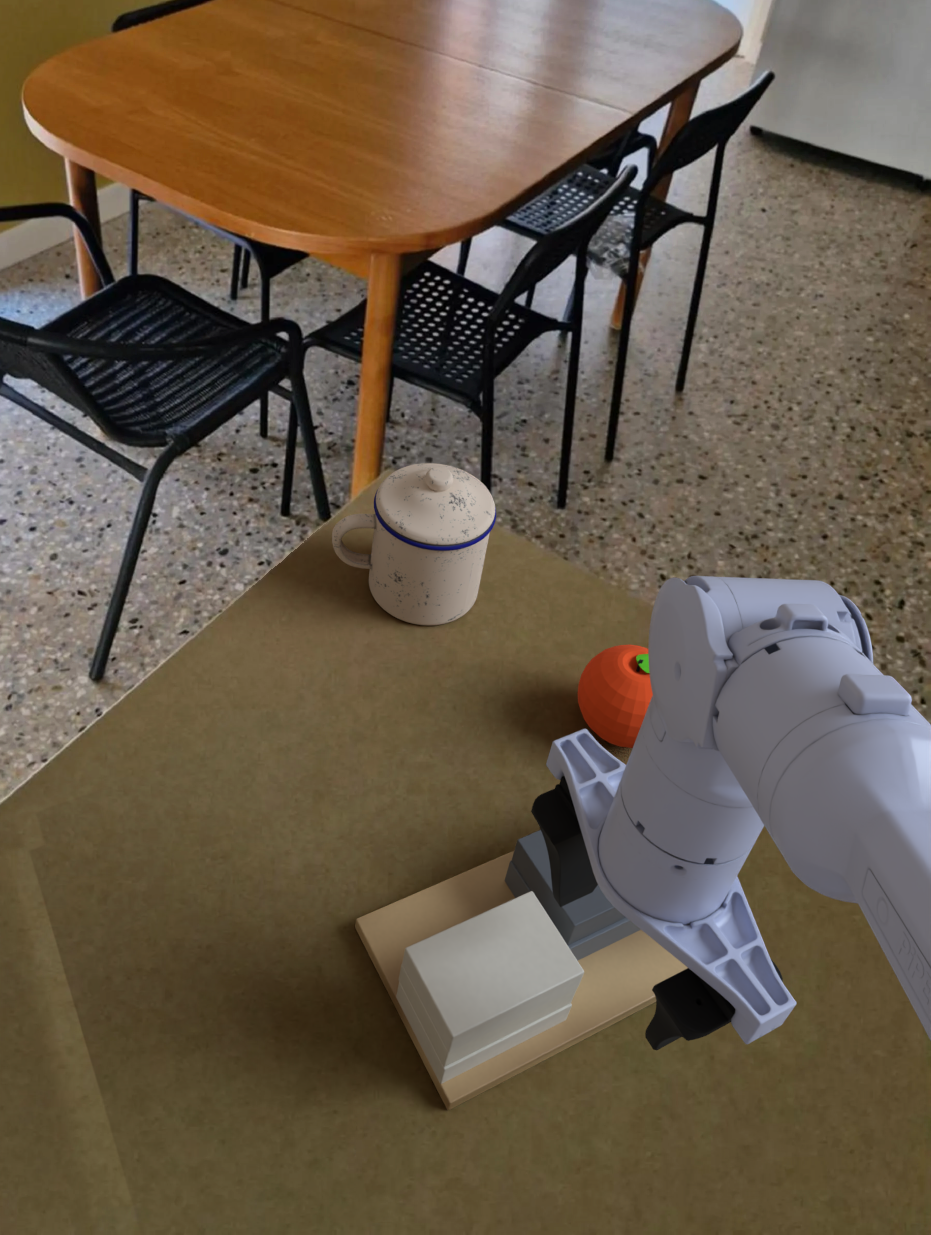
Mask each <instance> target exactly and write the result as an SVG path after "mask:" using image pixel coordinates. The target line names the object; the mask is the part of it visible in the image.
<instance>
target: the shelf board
mask: <svg viewBox="0 0 931 1235" xmlns="http://www.w3.org/2000/svg"><path fill="white" fill-rule="evenodd" d="M513 854H514V850H512V851H509V852H508V853H505V854H503V855H501V856H498V857H496V858H493V859H491V860H488V861H486V862H484V863H482V864H480V865H478V866H475V867H473V868H470V869H468V870H466V871H464V872H461V873H459V874H457V875H455V876H452V877H450V878H447V879H445V880H442V881H441V882H437V883H436V884H433V885H432V886H429V887H427V888H424V889H422V890H420V891H417V892H415V893H413V894H411V895H408V896H405V897H403V898H401V899H399V900H397V901H394V902H392V903H390V904H387V905H384V906H383V907H380V908H378V909H376V910H373V911H371V912H368V913H367V914H364V915H362V916H360V917H357V918H356V919H355V925H354V928H355V930H356V933H357V934H358V936H359V938H360V940H361V943H362V944H363V946H364V948H365V950H366V953H367V954H368V956H369V959H370V960H371V962H372V964H373V966H374V968H375V970H376V972H377V974H378V976H379V978H380V980H381V982H382V984H383V985H384V988H385V990H386V992H387V994H388V996H389V997H390V999H391V1001H392V1003H393V1006H394V1007H395V1009H396V1011H397V1013H398V1016H399V1018H400V1020H401V1021H402V1024H403V1026H404V1027H405V1030H406V1032H407V1033H408V1036H409V1037H410V1040H411V1041H412V1043H413V1045H414V1047H415V1049H416V1051H417V1053H418V1055H419V1057H420V1059H421V1061H422V1063H423V1065H424V1067H425V1069H426V1071H427V1072H428V1075H429V1077H430V1079H431V1081H432V1082H433V1084H434V1087H435V1089H436V1090H437V1091H436V1092H438V1095H439V1097H440V1099H441V1100H442V1102H443V1105H444V1106H445V1108H446V1110H447V1111H451V1110H452V1109H454V1108H456V1107H458V1106H460V1105H463V1104H464V1103H466V1102H468V1101H469V1100H472V1099H474V1098H475V1097H477V1096H479V1095H481V1094H482V1093H485V1092H487V1091H489V1090H490V1089H492V1088H494V1087H496V1086H498V1085H500V1084H503V1083H504V1082H506V1081H508V1080H509V1079H511V1078H513V1077H515V1076H518V1075H519V1074H521V1073H524V1072H525V1071H526V1070H529V1069H531V1068H533V1067H534V1066H536V1065H538V1064H540V1063H542V1062H544V1061H546V1060H547V1059H550V1058H552V1057H554V1056H556V1055H557V1054H559V1053H561V1052H563V1051H565V1050H567V1049H569V1048H570V1047H572V1046H574V1045H576V1044H578V1043H580V1042H582V1041H584V1040H587V1039H588V1038H590V1037H591V1036H593V1035H595V1034H597V1033H599V1032H601V1031H603V1030H605V1029H607V1028H609V1027H611V1026H613V1025H614V1024H616V1023H618V1022H620V1021H622V1020H624V1019H627V1018H628V1017H630V1016H632V1015H634V1014H636V1013H638V1012H639V1011H642V1010H643V1009H645V1008H647V1007H649V1006H651V1005H653V1004H656V996H655V994H654V992H653V991H652V989H653V987H654V986H655V985H656V984H658V983H660V982H662V981H664V980H666V979H668V978H670V977H672V976H674V975H675V974H677V973H679V972H681V971H683V970H685V969H687V968H688V967H687V966H685V965H684V964H683V963H682V962H680V961H679V960H678V959H677V958H676V957H674V956H673V955H672V954H671V953H669V952H668V951H667V950H666V949H664V948H663V947H662V946H661V945H660V944H658V943H657V942H656V941H655V940H653V939H652V938H651V937H650V936H648V935H647V934H646V933H645V932H644V931H642V930H639V931H637V932H635V933H633V934H631V935H629V936H627V937H625V938H623V939H621V940H619V941H617V942H615V943H613V944H611V945H609V946H607V947H605V948H603V949H600V950H598V951H596V952H594V953H592V954H590V955H588V956H586V957H584V958H582V959H580V960H578V962H579V964H580V965H581V967H582V969H583V970H584V974H583V977H582V979H581V982H580V984H579V986H578V988H577V990H576V992H575V994H574V997H573V999H572V1002H571V1004H572V1006H571V1009H570V1011H569V1014H568V1016H567V1019H566V1020H565V1021H563V1022H561V1023H559V1024H557V1025H555V1026H553V1027H551V1028H549V1029H548V1030H546V1031H544V1032H542V1033H540V1034H538V1035H536V1036H534V1037H532V1038H530V1039H528V1040H526V1041H524V1042H522V1043H520V1044H518V1045H516V1046H514V1047H512V1048H510V1049H508V1050H506V1051H505V1052H503V1053H501V1054H499V1055H497V1056H495V1057H493V1058H491V1059H489V1060H487V1061H485V1062H483V1063H481V1064H479V1065H477V1066H475V1067H473V1068H471V1069H469V1070H467V1071H465V1072H464V1073H462V1074H460V1075H458V1076H456V1077H454V1078H452V1079H450V1080H448V1081H446V1082H444V1083H442V1084H440V1082H439V1080H438V1078H437V1076H436V1074H435V1073H434V1071H433V1069H432V1067H431V1065H430V1063H429V1061H428V1059H427V1057H426V1055H425V1053H424V1051H423V1049H422V1047H421V1045H420V1043H419V1041H418V1039H417V1037H416V1035H415V1033H414V1031H413V1029H412V1027H411V1025H410V1023H409V1021H408V1020H407V1018H406V1016H405V1014H404V1012H403V1010H402V1008H401V1006H400V1004H399V1002H398V1000H397V998H396V995H397V990H398V985H399V975H400V970H401V965H402V962H403V957H404V952H405V948H406V947H409V946H411V945H413V944H415V943H417V942H420V941H422V940H424V939H426V938H428V937H431V936H433V935H435V934H437V933H440V932H442V931H444V930H446V929H448V928H451V927H453V926H455V925H457V924H459V923H462V922H464V921H466V920H468V919H471V918H473V917H475V916H477V915H479V914H482V913H484V912H486V911H488V910H490V909H493V908H495V907H497V906H499V905H501V904H504V903H506V902H508V901H510V900H513V899H515V897H514V895H513V893H512V892H511V890H510V889H509V887H508V885H507V884H506V882H505V877H506V873H507V870H508V866H509V863H510V861H511V860H512V857H513Z"/></svg>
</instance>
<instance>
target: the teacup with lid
mask: <svg viewBox="0 0 931 1235" xmlns="http://www.w3.org/2000/svg"><path fill="white" fill-rule="evenodd" d="M373 511H374V513H353V514H349V515H347V516H345V517H343V518H341V519H340V520H339V521H337V522H336V523H335V525H334V527H333V528H332V532H331V544H332V548H333V551H334V553H335V554H336V556H337V557H338V558H339V559H340V561H342V562H343V563H344V564H346V565H347V566H350V567H353V568H357V569H364V570H365V569H366V570H369V572H368V573H369V574H368V587H369V590H370V593H371V595H372V597H373V599H374V600H375V602H376V603H377V604H378V605H379V607H381V609H383V610H384V611H385V612H386V613H388V614H389V615H391V616H392V617H395V618H396V619H398V620H401V621H403V622H406V623H410V624H413V625H420V626H439V625H440V626H441V625H444V624H448V623H451V622H454V621H456V620H458V619H460V618H462V617H464V616H465V615H466V614H467V613H468V612H469V611H470V610H471V609H472V608H473V606H474V604H475V603H476V600H477V598H478V595H479V590H480V584H481V579H482V574H483V568H484V565H485V559H486V554H487V549H488V545H489V544H488V543H489V538H490V534H491V531H492V530H493V528H494V526H495V523H496V520H497V509H496V504H495V501H494V498H493V496H492V494H491V491H490V490H489V489H488V487H487V486H486V485H485V484H484V483H483V482H482V481H481V480H479V479H478V478H477V477H475V476H474V475H472V474H471V473H469V472H468V471H465V470H463V469H461V468H458V467H455V466H453V465H448V464H443V463H433V462H424V463H422V462H421V463H415V464H410V465H407V466H404V467H400V468H399V469H396V470H395V471H393V472H391V473H390V474H389V475H388V476H386V477H385V478H384V479H383V480H382V482H381V483H380V484H379V486H378V488H377V489H376V492H375V494H374V497H373ZM358 529H370V530H371V529H373V535H372V544H371V554H367V553H359V552H355V551H353V550H351V549H349V548H348V547H347V546H346V545H345V544H344V542H343V541H342V538H343V537H344V535H345V534H347V533H349V532H350V531H352V530H358Z"/></svg>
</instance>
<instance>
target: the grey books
mask: <svg viewBox="0 0 931 1235" xmlns="http://www.w3.org/2000/svg"><path fill="white" fill-rule="evenodd" d="M513 851H514V854H513V857H512V860H511V861H510V863H509V866H508V870H507V873H506V877H505V882H506V884H507V885H508V887H509V889H510V890H511V892H512V893H513V895H514V897H515V898H517V897H519V896H521V895H524V894H526V893H528V892H530V891H533V893H534V894H535V896H536V897H537V899H538V900H539V902H540V904H541V905H542V907H543V908H544V910H545V911H546V913H547V914H548V916H549V917H550V919H551V921H552V922H553V924H554V925H555V927H556V928H557V930H558V931H559V933H560V935H561V936H562V938H563V939H564V941H565V942H566V944H567V945H568V947H569V948H570V950H571V952H572V953H573V955H574V956H575V958H576V959H577V961H578V960H580V959H582V958H584V957H586V956H588V955H590V954H592V953H594V952H596V951H598V950H600V949H603V948H605V947H607V946H609V945H611V944H613V943H615V942H617V941H619V940H621V939H623V938H625V937H627V936H629V935H631V934H633V933H635V932H637V931H639V930H641V929H640V928H639V927H637V926H636V925H635V924H634V923H632V922H631V921H630V920H629V919H628V918H626V917H625V916H624V915H623V914H621V913H620V912H619V911H618V910H617V909H616V908H615V907H614V906H613V905H612V904H611V903H610V902H609V900H608V899H607V898H606V896H605V895H604V894H603V892H602V891H601V889H600V887H599V885H597V887H596V888H595V889H594V891H593V892H592V893H590V894H588V895H586V896H584V897H581V898H579V899H577V900H575V901H573V902H571V903H569V904H566V905H564V906H562V907H560V906H559V904H558V903H557V901H556V900H555V898H554V896H553V890H552V880H551V869H550V862H549V855H548V851H547V847H546V843H545V840H544V837H543V834H542V832H541V829H539V830H536V831H534V832H532V833H530V834H528V835H525V836H522V837H521V838H518V839H517V840H516V842H515V847H514V850H513Z"/></svg>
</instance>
